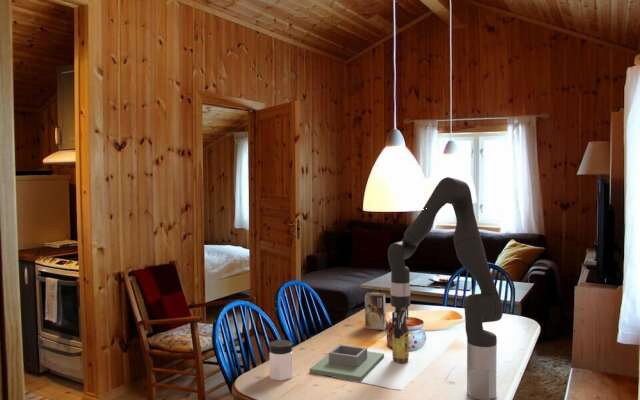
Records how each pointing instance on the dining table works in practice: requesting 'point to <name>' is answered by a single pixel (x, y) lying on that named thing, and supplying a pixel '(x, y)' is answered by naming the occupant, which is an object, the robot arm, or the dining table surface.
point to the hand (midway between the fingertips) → (400, 335)
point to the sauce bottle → (401, 344)
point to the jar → (280, 360)
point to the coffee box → (375, 311)
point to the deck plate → (347, 363)
